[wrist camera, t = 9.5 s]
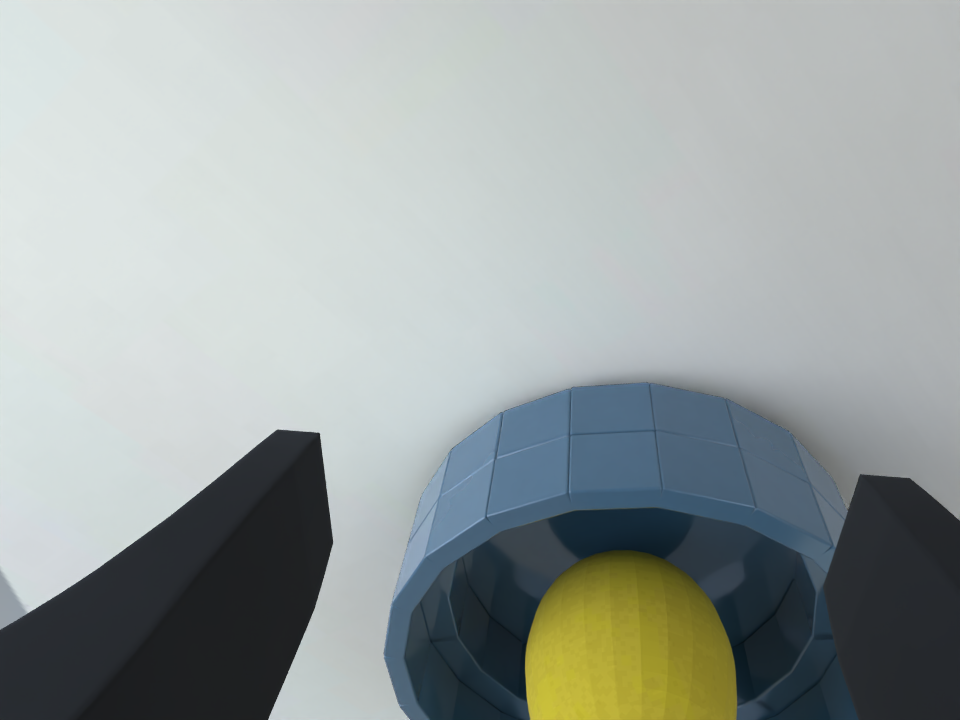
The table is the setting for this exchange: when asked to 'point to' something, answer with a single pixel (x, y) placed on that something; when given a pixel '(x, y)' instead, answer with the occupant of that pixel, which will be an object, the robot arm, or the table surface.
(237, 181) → the table surface
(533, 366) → the table surface
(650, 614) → the lemon
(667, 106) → the table surface
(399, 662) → the bowl
